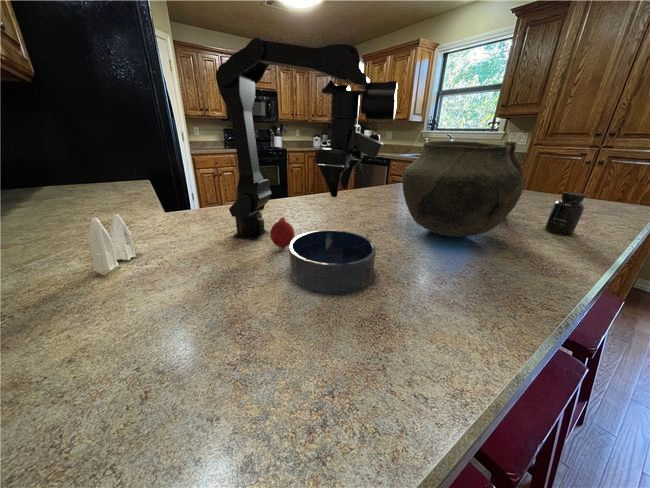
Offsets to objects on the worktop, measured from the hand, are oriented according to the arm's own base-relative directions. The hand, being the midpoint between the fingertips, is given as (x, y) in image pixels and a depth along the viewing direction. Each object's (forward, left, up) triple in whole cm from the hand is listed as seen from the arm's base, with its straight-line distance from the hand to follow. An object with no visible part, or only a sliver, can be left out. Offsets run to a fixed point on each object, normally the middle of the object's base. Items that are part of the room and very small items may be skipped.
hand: (339, 192), depth 62 cm
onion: (-13, -5, -14) cm, 20 cm away
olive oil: (+47, +41, -14) cm, 64 cm away
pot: (+30, +19, -14) cm, 38 cm away
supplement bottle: (+63, +30, -14) cm, 71 cm away
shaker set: (-43, -23, -14) cm, 50 cm away
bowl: (+1, -13, -14) cm, 19 cm away
